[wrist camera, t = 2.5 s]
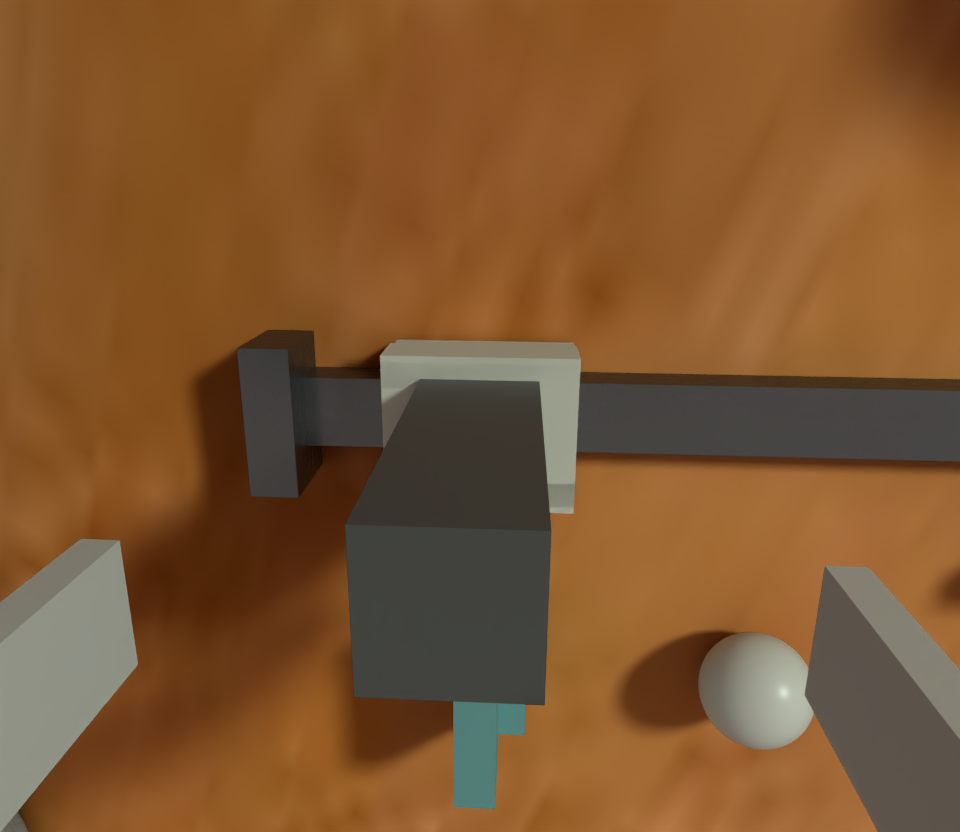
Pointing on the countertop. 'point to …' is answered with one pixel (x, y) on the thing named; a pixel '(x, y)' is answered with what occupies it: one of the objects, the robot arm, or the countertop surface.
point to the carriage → (463, 536)
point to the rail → (603, 414)
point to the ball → (755, 690)
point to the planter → (16, 824)
